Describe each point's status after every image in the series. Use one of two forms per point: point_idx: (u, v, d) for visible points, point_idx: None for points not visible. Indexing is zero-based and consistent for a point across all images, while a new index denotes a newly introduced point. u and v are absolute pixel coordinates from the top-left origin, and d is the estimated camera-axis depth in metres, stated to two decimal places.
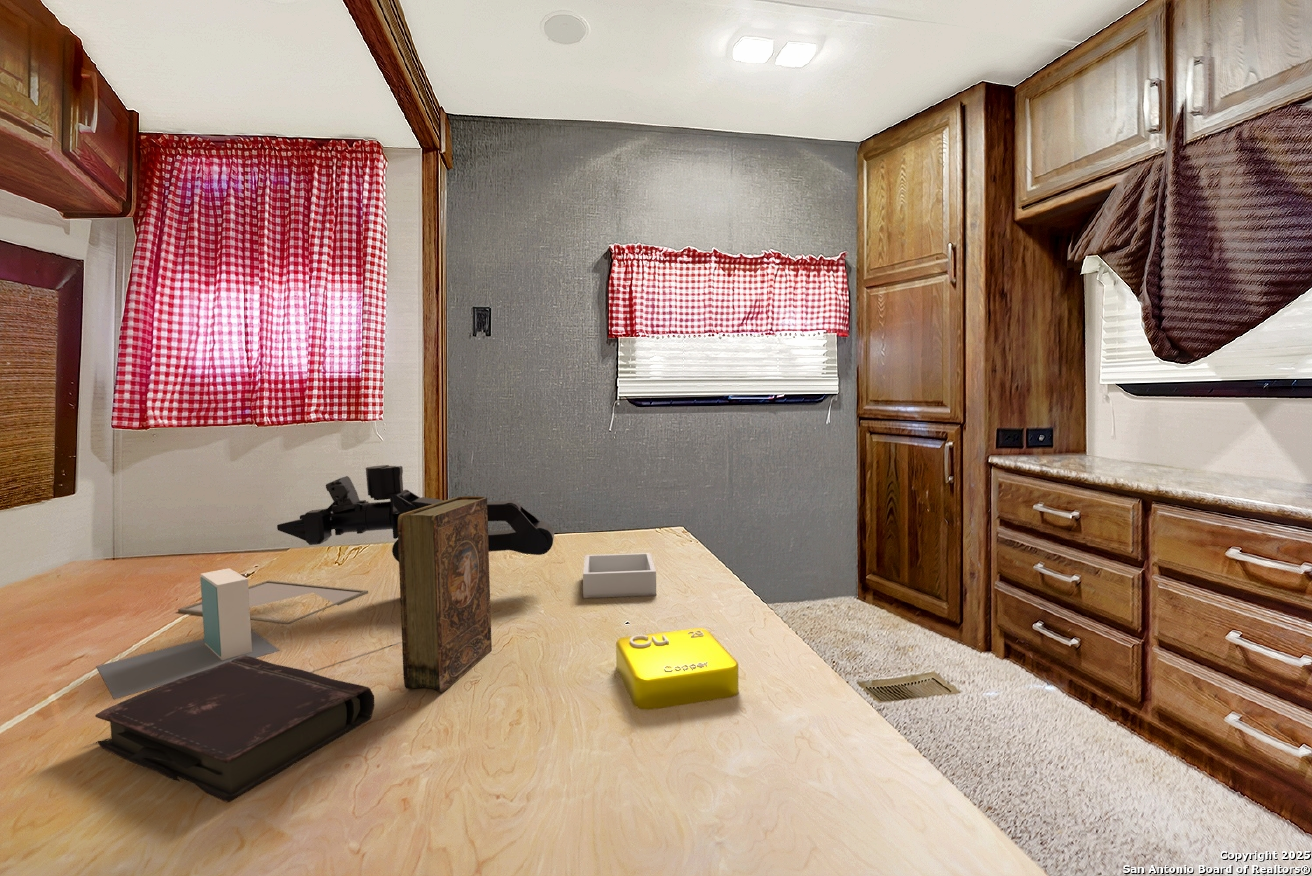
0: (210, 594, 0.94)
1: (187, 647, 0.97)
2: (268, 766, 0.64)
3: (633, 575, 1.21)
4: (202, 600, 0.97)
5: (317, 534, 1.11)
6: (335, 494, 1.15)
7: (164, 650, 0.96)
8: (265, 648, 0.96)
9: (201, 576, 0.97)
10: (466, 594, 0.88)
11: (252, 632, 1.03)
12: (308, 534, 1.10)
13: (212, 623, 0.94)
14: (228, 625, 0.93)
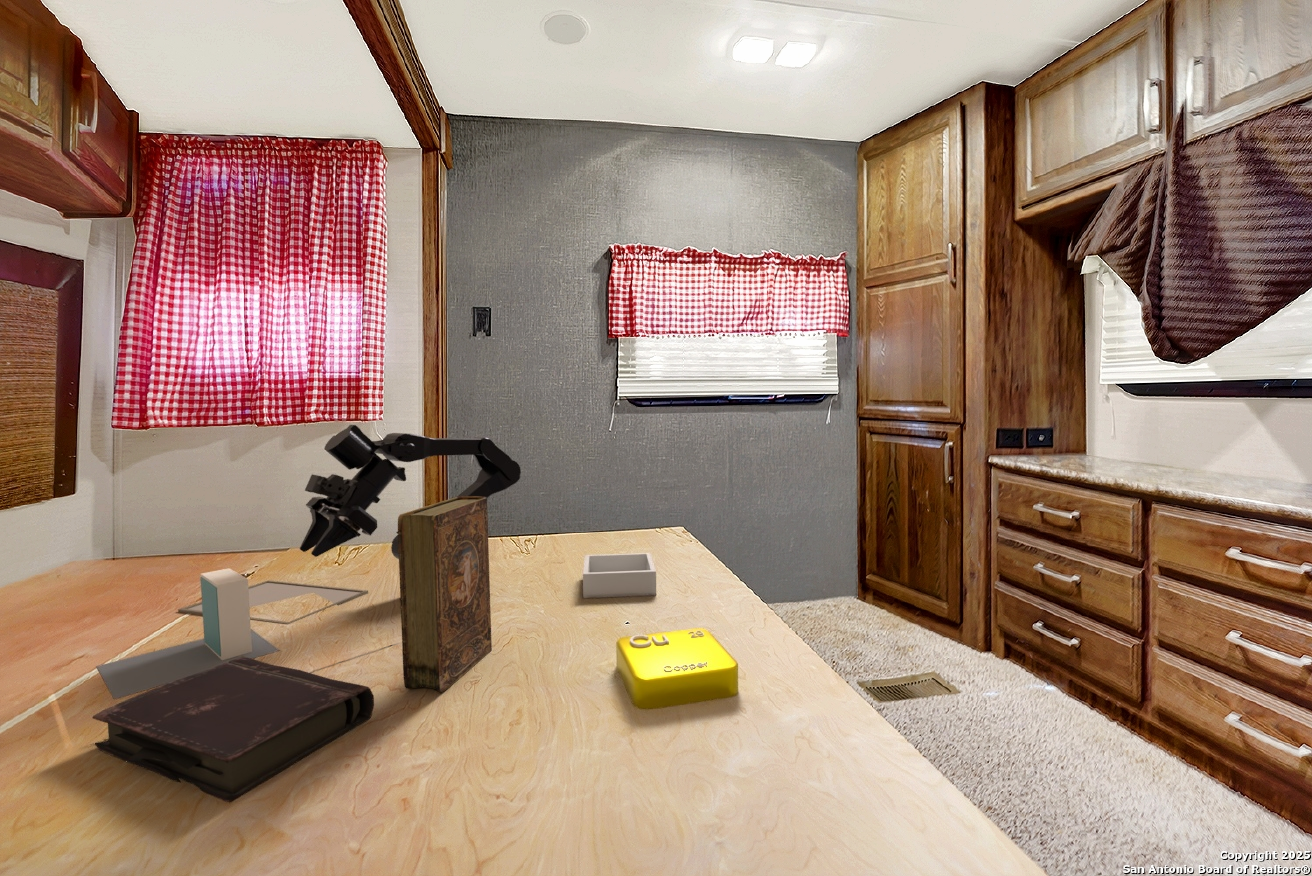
0: (210, 594, 0.94)
1: (187, 647, 0.97)
2: (269, 766, 0.64)
3: (633, 575, 1.21)
4: (202, 600, 0.97)
5: (370, 521, 1.05)
6: (336, 487, 1.05)
7: (164, 650, 0.96)
8: (265, 648, 0.96)
9: (201, 576, 0.97)
10: (466, 594, 0.88)
11: (252, 632, 1.03)
12: (363, 528, 1.04)
13: (212, 623, 0.94)
14: (228, 625, 0.93)
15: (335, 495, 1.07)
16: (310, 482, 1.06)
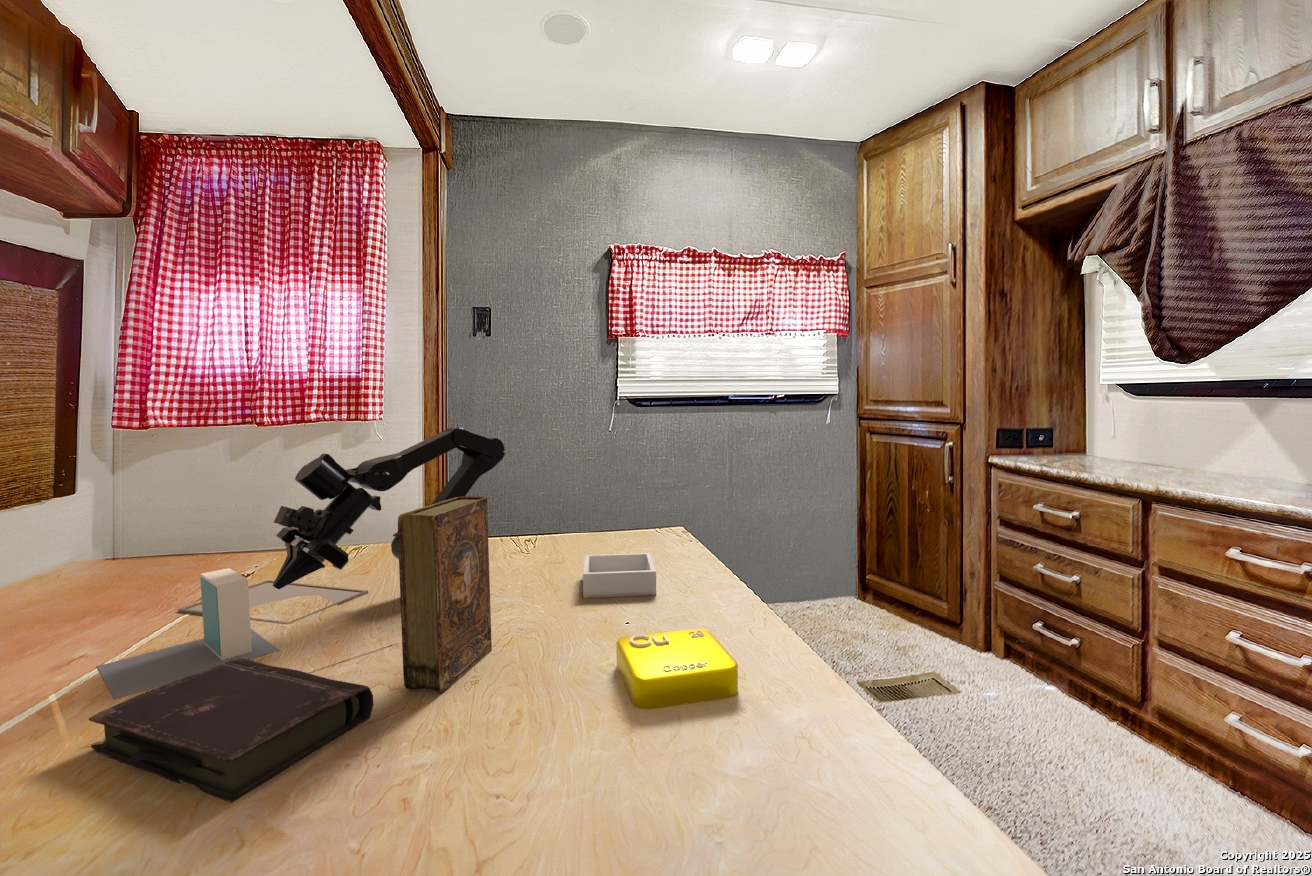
0: (210, 594, 0.94)
1: (187, 647, 0.97)
2: (270, 766, 0.64)
3: (633, 575, 1.21)
4: (202, 600, 0.97)
5: (340, 555, 1.01)
6: (306, 519, 1.01)
7: (164, 650, 0.96)
8: (265, 648, 0.96)
9: (201, 576, 0.97)
10: (466, 594, 0.88)
11: (252, 632, 1.03)
12: (333, 562, 1.00)
13: (212, 623, 0.94)
14: (228, 625, 0.93)
15: (305, 527, 1.03)
16: (279, 514, 1.02)
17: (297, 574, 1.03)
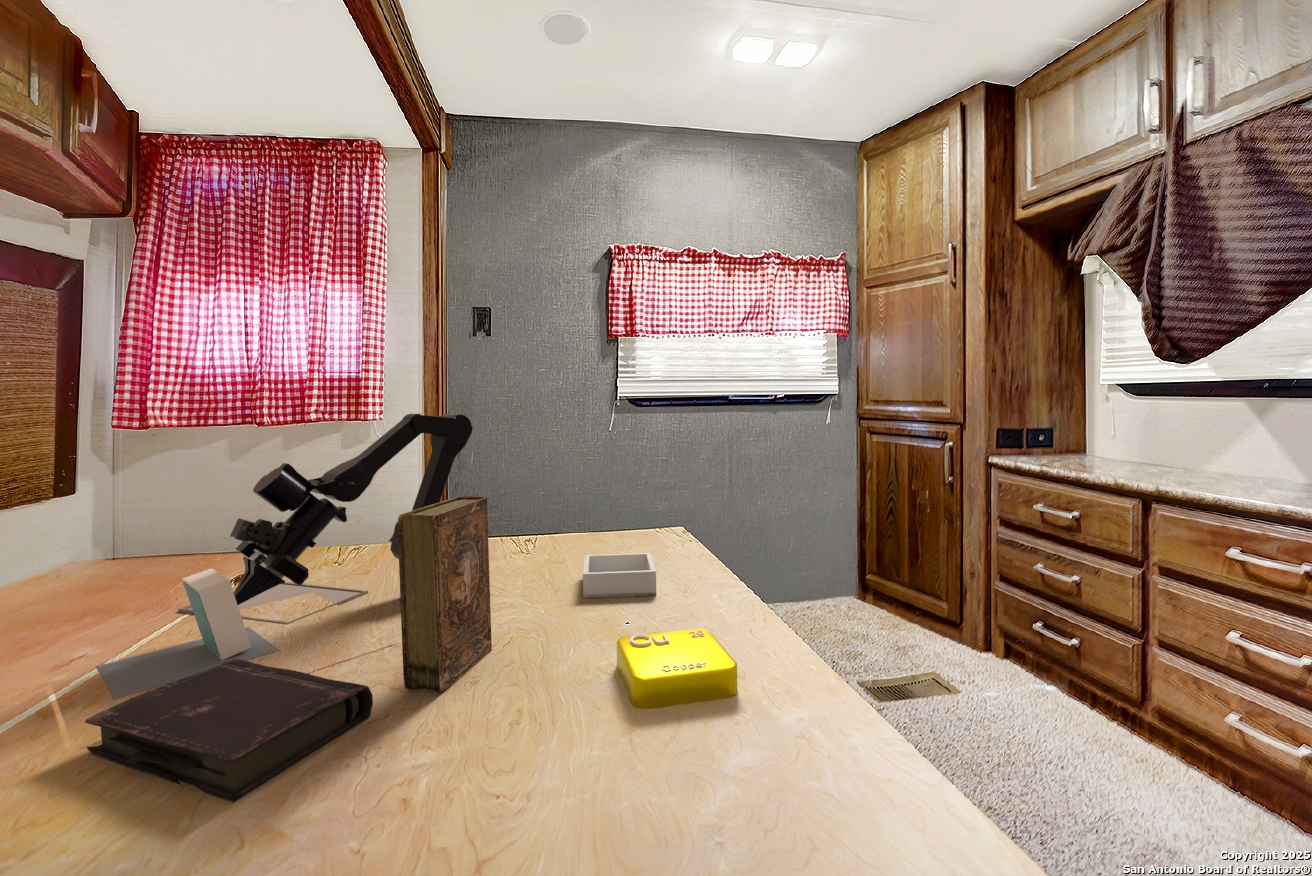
0: (195, 599, 0.92)
1: (187, 647, 0.97)
2: (271, 765, 0.64)
3: (633, 575, 1.21)
4: (191, 604, 0.96)
5: (300, 570, 0.96)
6: (263, 533, 0.96)
7: (164, 650, 0.96)
8: (265, 648, 0.96)
9: (183, 581, 0.96)
10: (466, 594, 0.88)
11: (252, 632, 1.03)
12: (292, 578, 0.95)
13: (204, 626, 0.93)
14: (220, 626, 0.92)
15: (263, 541, 0.98)
16: (236, 527, 0.98)
17: (255, 590, 0.98)
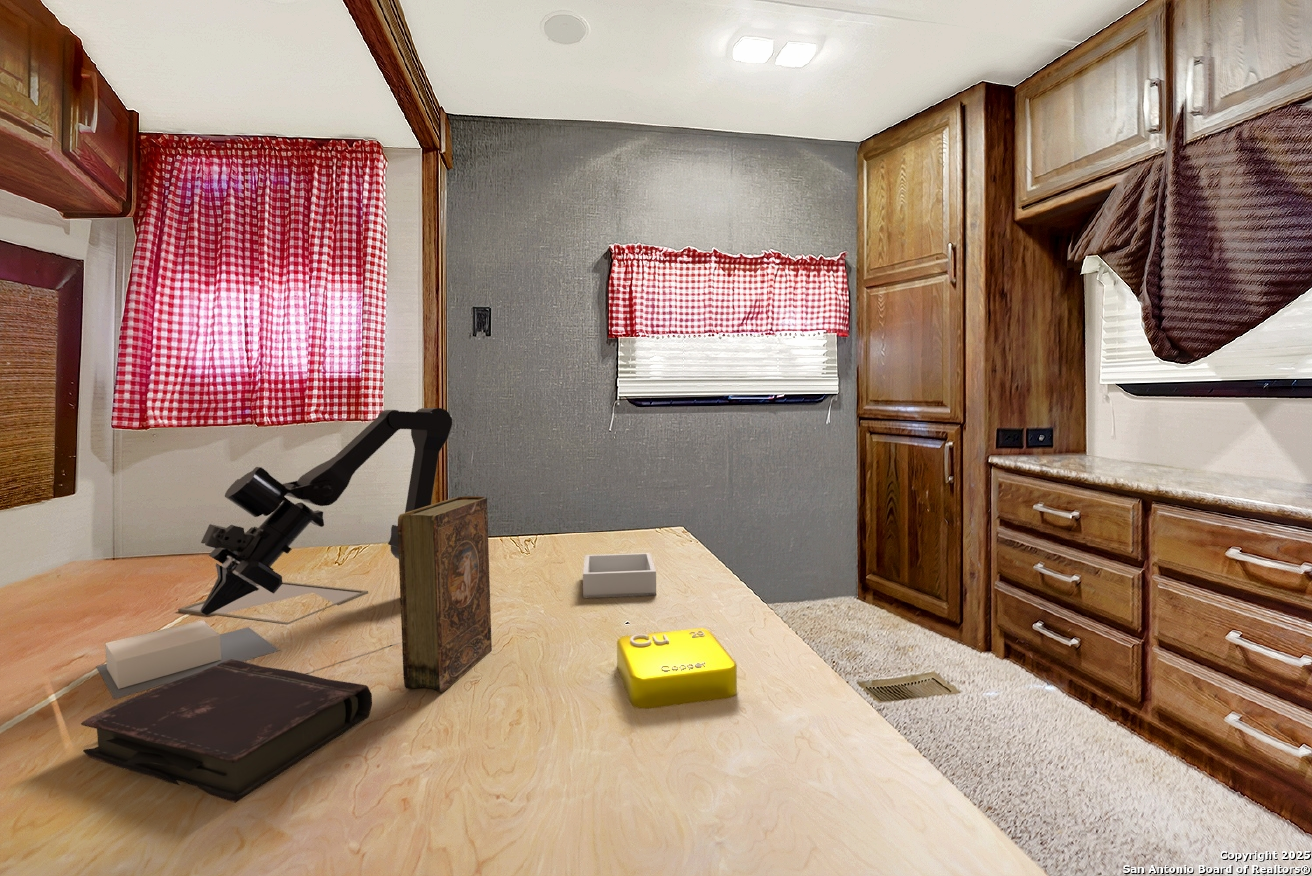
0: None
1: None
2: (272, 765, 0.64)
3: (633, 575, 1.21)
4: None
5: (273, 578, 0.93)
6: (235, 539, 0.94)
7: None
8: (265, 648, 0.96)
9: None
10: (466, 594, 0.88)
11: (252, 632, 1.03)
12: (264, 586, 0.92)
13: None
14: (178, 664, 0.88)
15: (235, 548, 0.95)
16: (206, 533, 0.95)
17: (227, 598, 0.95)
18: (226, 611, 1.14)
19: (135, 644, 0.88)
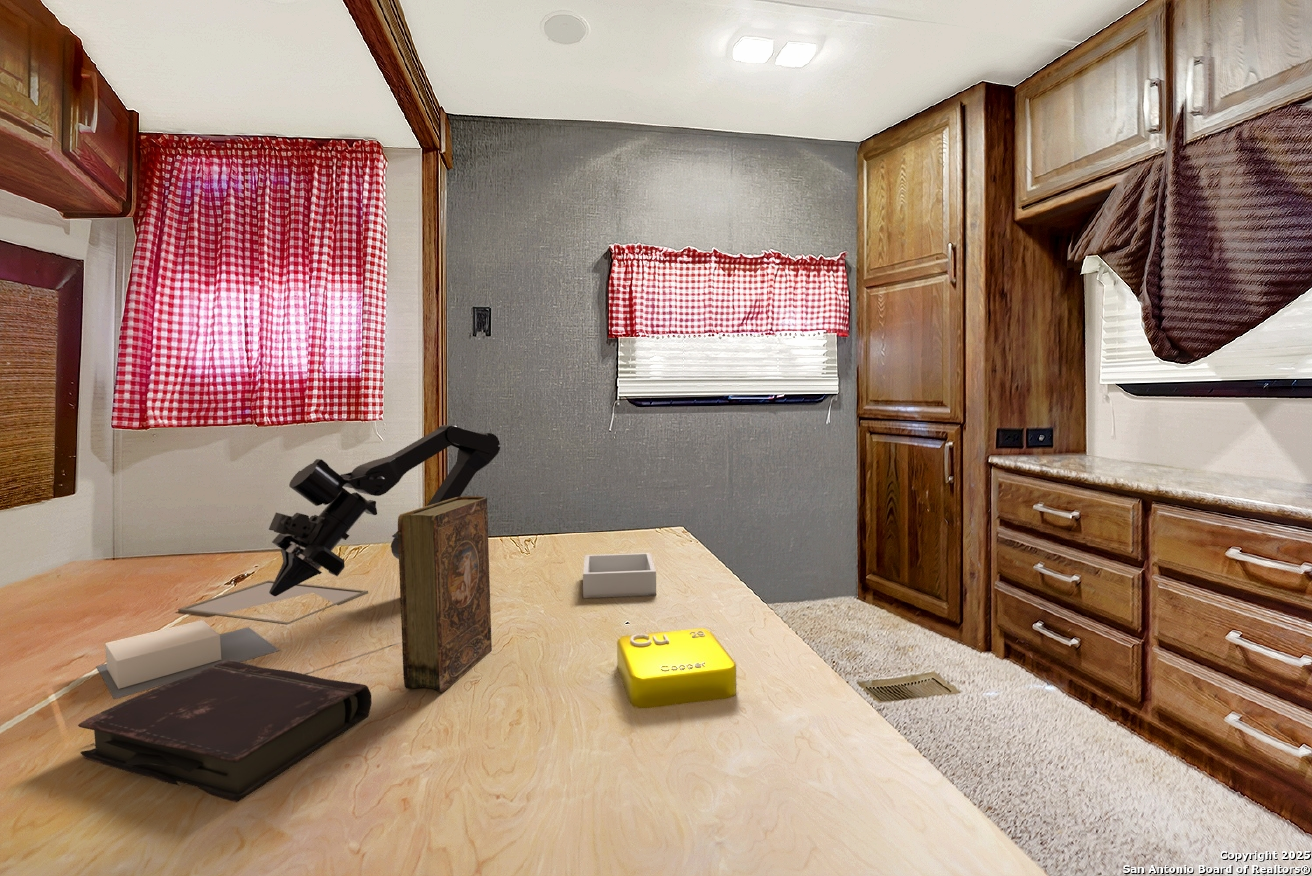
0: None
1: None
2: (272, 765, 0.64)
3: (633, 575, 1.21)
4: None
5: (336, 561, 1.01)
6: (301, 526, 1.01)
7: None
8: (265, 648, 0.96)
9: None
10: (466, 594, 0.88)
11: (252, 632, 1.03)
12: (329, 569, 1.00)
13: None
14: (178, 664, 0.88)
15: (300, 534, 1.02)
16: (274, 521, 1.02)
17: (293, 581, 1.03)
18: (226, 611, 1.14)
19: (135, 644, 0.88)
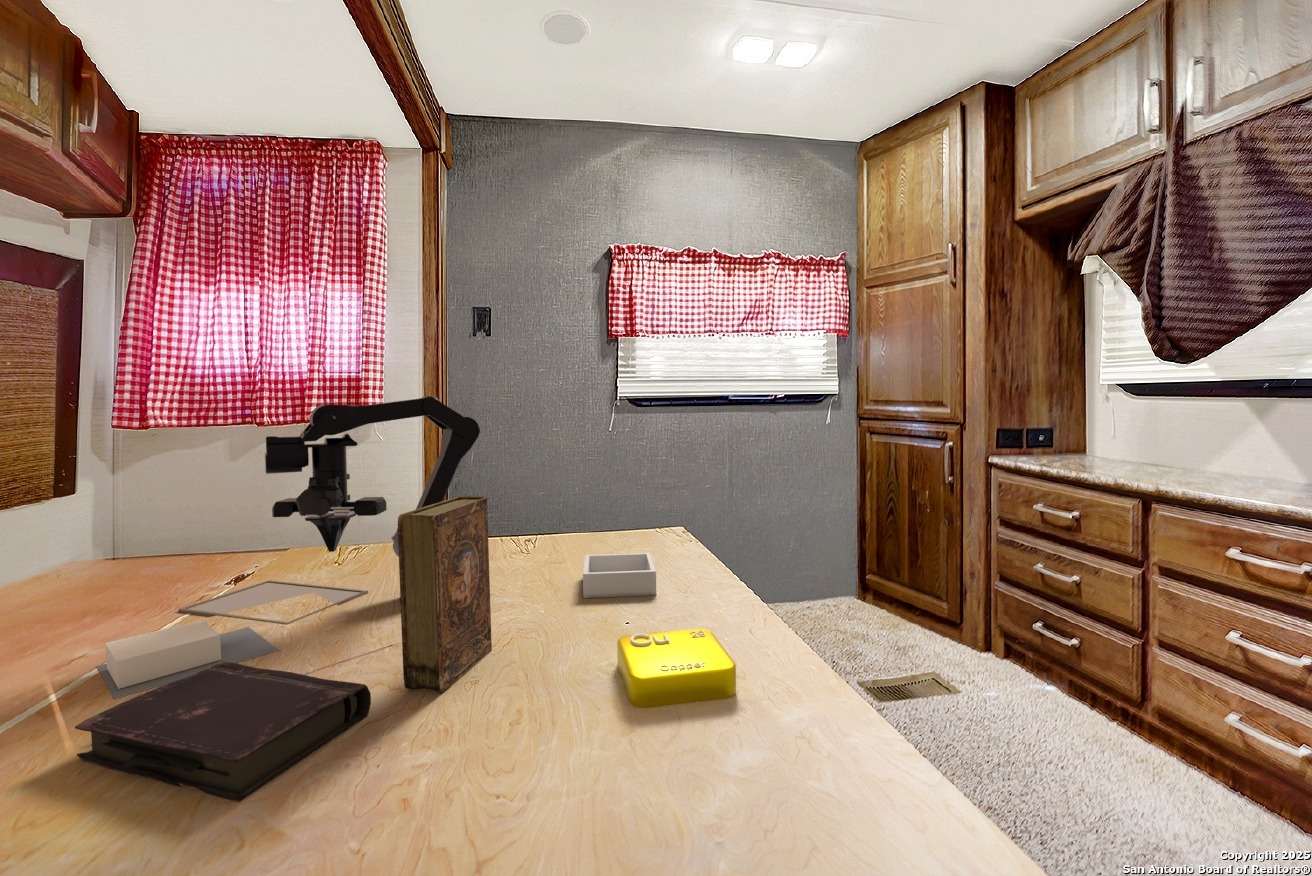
0: None
1: None
2: (273, 765, 0.64)
3: (633, 575, 1.21)
4: None
5: (383, 502, 1.14)
6: (340, 498, 1.07)
7: None
8: (265, 648, 0.96)
9: None
10: (466, 594, 0.88)
11: (252, 632, 1.03)
12: (383, 510, 1.14)
13: None
14: (178, 664, 0.88)
15: None
16: (306, 508, 1.04)
17: (341, 532, 1.13)
18: (226, 611, 1.14)
19: (135, 644, 0.88)
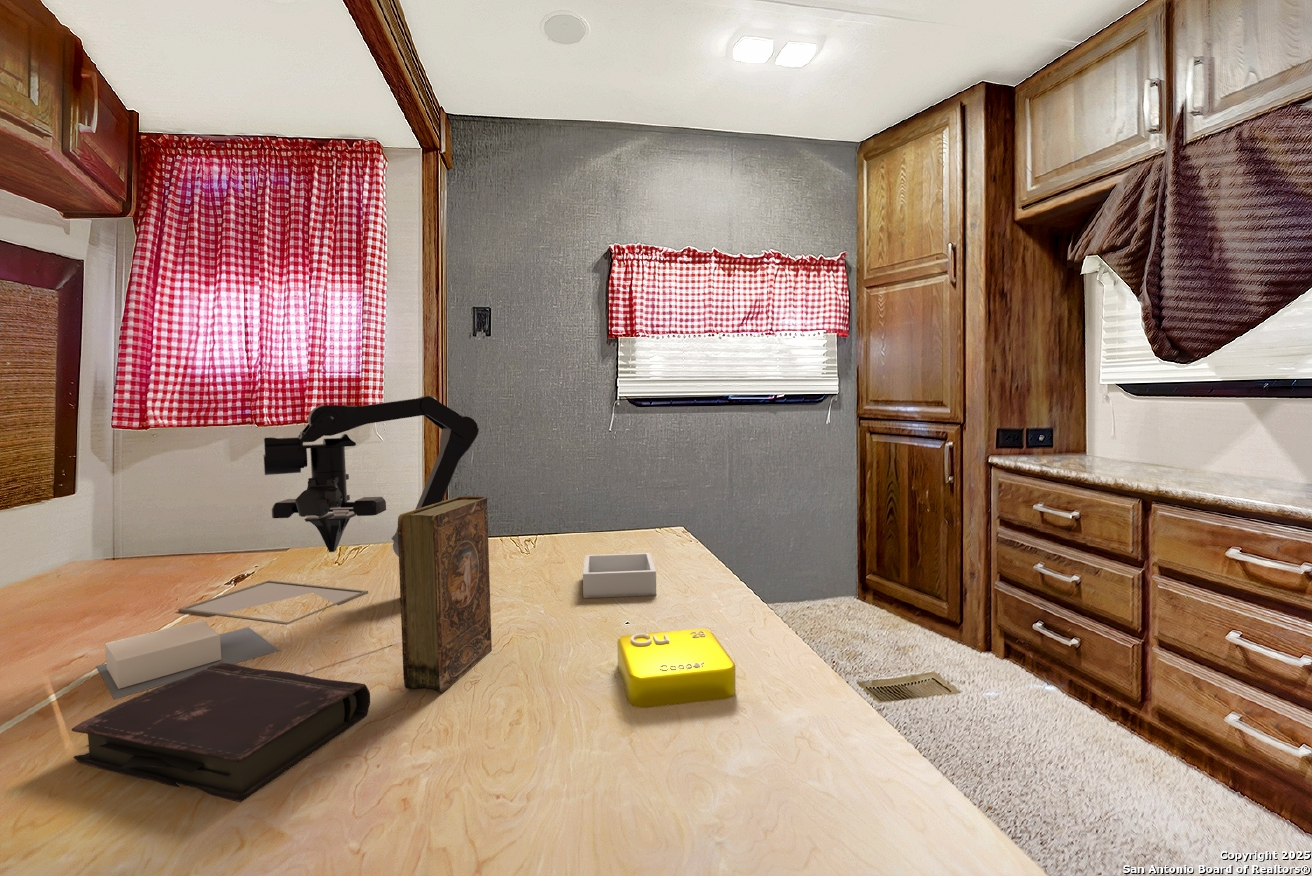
0: None
1: None
2: (274, 765, 0.64)
3: (633, 575, 1.21)
4: None
5: (382, 502, 1.14)
6: (339, 499, 1.07)
7: None
8: (265, 648, 0.96)
9: None
10: (466, 594, 0.88)
11: (252, 632, 1.03)
12: (383, 510, 1.14)
13: None
14: (178, 664, 0.88)
15: None
16: (305, 508, 1.04)
17: (341, 532, 1.14)
18: (226, 611, 1.14)
19: (135, 644, 0.88)
